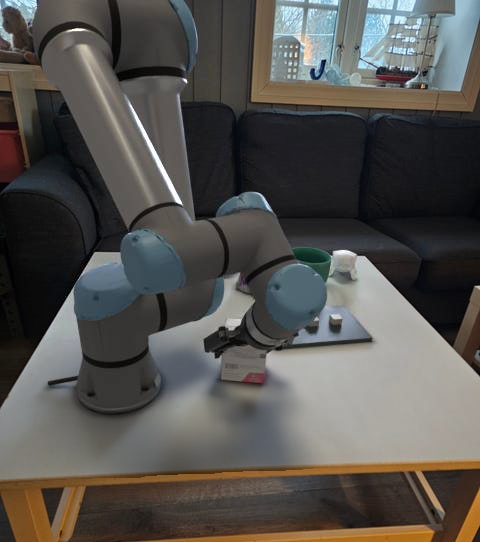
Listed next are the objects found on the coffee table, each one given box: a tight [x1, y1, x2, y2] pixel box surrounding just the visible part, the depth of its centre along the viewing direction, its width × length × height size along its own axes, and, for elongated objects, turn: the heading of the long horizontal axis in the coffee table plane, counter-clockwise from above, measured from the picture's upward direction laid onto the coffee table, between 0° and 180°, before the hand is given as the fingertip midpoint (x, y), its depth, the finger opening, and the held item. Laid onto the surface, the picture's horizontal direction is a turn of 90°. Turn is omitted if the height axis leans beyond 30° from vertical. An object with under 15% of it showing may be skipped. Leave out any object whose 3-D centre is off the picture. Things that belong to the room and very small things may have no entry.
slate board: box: [274, 305, 374, 350], centre depth 105 cm, size 24×16×1 cm, turn 103°
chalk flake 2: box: [329, 314, 343, 325], centre depth 105 cm, size 2×2×2 cm
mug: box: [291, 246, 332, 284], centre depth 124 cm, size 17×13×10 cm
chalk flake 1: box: [309, 317, 320, 327], centre depth 104 cm, size 2×2×2 cm
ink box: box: [220, 317, 268, 384], centre depth 84 cm, size 9×5×12 cm, turn 84°
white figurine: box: [328, 249, 358, 281], centre depth 132 cm, size 9×8×15 cm
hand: (240, 349), depth 88 cm, fingers closed on ink box, 9 cm apart
